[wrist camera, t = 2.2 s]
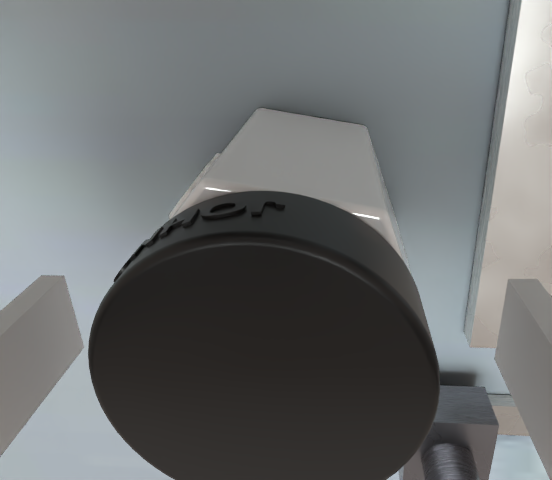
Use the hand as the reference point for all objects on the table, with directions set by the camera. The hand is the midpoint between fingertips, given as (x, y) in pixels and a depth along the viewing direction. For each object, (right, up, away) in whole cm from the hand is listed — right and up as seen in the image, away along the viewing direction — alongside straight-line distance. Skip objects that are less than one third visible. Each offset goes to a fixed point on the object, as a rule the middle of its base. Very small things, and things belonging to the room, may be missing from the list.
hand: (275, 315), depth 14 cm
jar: (+1, +4, +7) cm, 9 cm away
